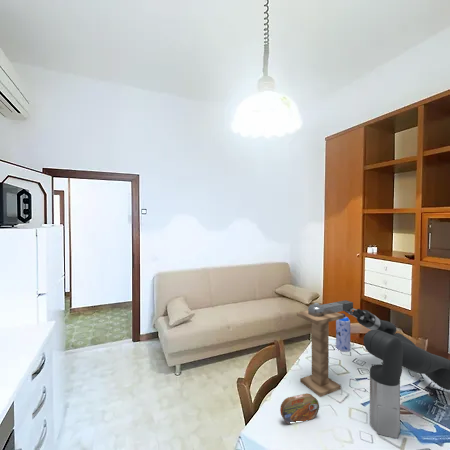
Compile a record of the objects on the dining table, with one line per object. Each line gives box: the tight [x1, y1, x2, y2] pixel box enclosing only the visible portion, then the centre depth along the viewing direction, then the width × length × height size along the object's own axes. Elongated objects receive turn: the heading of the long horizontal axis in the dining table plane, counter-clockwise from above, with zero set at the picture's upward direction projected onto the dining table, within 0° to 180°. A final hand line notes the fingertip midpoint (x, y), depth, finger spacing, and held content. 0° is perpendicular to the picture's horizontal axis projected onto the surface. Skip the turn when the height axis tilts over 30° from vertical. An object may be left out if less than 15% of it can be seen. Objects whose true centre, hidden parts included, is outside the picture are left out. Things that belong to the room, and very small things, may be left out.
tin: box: [279, 392, 320, 425], centre depth 99 cm, size 15×3×8 cm, turn 106°
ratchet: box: [307, 299, 354, 317], centre depth 123 cm, size 24×6×5 cm, turn 117°
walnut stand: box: [296, 309, 344, 398], centre depth 120 cm, size 16×12×32 cm
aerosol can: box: [335, 313, 352, 353], centre depth 155 cm, size 8×8×20 cm
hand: (349, 308), depth 129 cm, fingers open, 8 cm apart
